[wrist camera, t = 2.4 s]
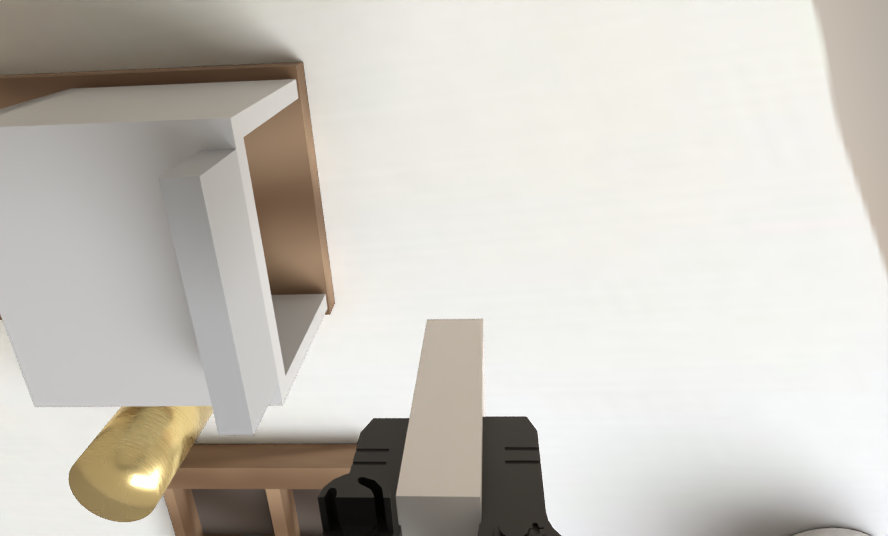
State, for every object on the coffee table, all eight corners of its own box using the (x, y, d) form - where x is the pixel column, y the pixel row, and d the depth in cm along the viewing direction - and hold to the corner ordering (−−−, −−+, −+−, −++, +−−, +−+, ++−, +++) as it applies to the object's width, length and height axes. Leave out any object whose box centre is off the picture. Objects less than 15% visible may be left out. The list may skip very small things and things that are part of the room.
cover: (70, 88, 29) (-149, 153, 19) (295, 78, 28) (192, 140, 18) (131, 311, 33) (-18, 458, 23) (327, 308, 32) (258, 458, 23)
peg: (143, 355, 36) (57, 453, 29) (214, 354, 36) (145, 453, 29) (160, 414, 38) (82, 521, 31) (228, 414, 37) (166, 522, 30)
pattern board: (-122, 80, 31) (-220, 99, 26) (303, 62, 29) (271, 78, 25) (-32, 309, 36) (-102, 356, 31) (334, 303, 34) (313, 351, 30)
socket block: (171, 444, 39) (155, 468, 37) (388, 443, 38) (383, 468, 36) (200, 549, 42) (187, 576, 40) (399, 551, 41) (395, 578, 39)
